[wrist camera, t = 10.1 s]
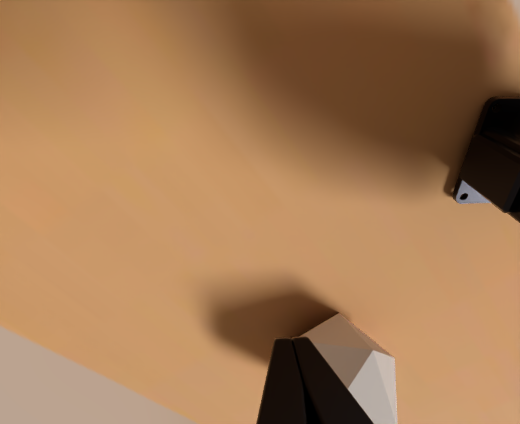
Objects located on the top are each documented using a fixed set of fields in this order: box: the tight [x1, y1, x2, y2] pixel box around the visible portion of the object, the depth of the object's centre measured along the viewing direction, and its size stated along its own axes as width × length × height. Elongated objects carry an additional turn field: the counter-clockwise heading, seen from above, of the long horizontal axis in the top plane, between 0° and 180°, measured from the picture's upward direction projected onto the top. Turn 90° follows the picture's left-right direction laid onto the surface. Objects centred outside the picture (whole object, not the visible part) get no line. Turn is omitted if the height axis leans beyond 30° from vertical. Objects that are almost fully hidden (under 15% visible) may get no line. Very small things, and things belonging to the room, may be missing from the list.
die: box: [299, 313, 397, 424], centre depth 26 cm, size 8×9×10 cm
